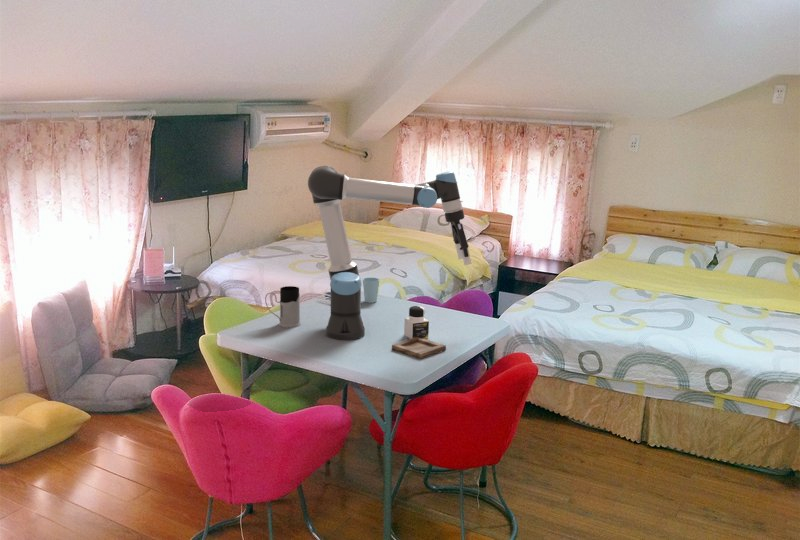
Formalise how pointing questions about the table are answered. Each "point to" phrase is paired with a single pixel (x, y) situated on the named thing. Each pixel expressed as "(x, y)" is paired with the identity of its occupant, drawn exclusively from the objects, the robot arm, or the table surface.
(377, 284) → the cup
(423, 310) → the medicine bottle
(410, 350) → the coaster tray
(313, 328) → the table surface
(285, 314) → the black and white mug
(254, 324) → the table surface
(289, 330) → the table surface
